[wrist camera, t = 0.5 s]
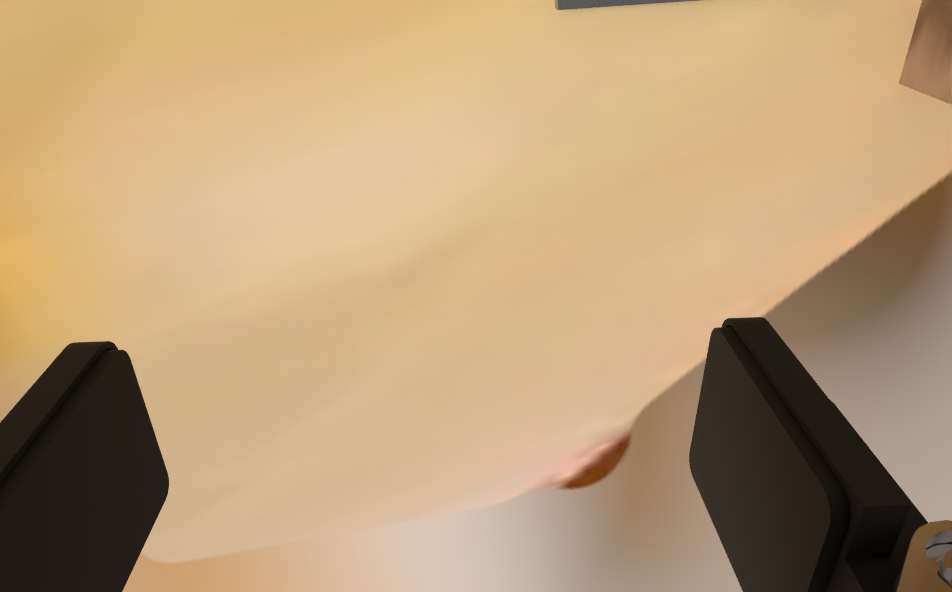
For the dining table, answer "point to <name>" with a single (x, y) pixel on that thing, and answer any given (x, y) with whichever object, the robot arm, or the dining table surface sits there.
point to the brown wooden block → (931, 51)
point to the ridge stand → (604, 3)
